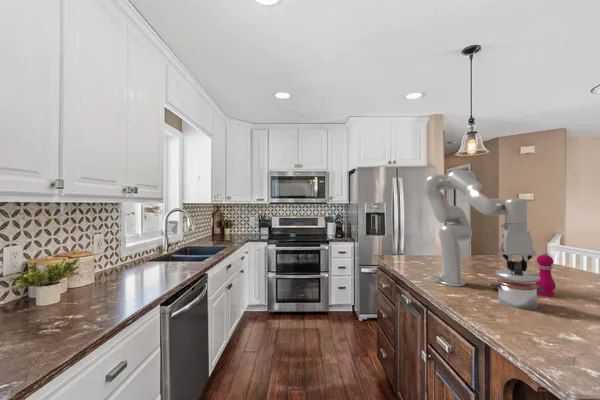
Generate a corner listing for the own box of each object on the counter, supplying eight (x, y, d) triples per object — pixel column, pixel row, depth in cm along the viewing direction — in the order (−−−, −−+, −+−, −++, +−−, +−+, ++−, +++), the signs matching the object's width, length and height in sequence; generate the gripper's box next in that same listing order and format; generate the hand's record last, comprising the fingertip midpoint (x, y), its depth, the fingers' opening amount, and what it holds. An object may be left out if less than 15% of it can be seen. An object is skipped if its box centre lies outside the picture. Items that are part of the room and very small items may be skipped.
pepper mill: (550, 292, 134) (550, 250, 134) (559, 297, 127) (558, 253, 127) (532, 291, 136) (531, 250, 136) (539, 296, 129) (539, 252, 129)
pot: (497, 307, 116) (497, 285, 116) (486, 296, 129) (486, 277, 129) (552, 312, 110) (552, 289, 110) (535, 300, 123) (534, 280, 123)
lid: (503, 280, 115) (503, 264, 115) (490, 271, 129) (490, 257, 129) (547, 283, 110) (547, 266, 110) (529, 273, 124) (529, 259, 124)
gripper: (496, 227, 119) (497, 271, 118) (544, 228, 114) (545, 273, 113) (490, 226, 126) (491, 267, 126) (535, 227, 121) (536, 269, 121)
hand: (516, 269), depth 120 cm, fingers closed on lid, 4 cm apart
